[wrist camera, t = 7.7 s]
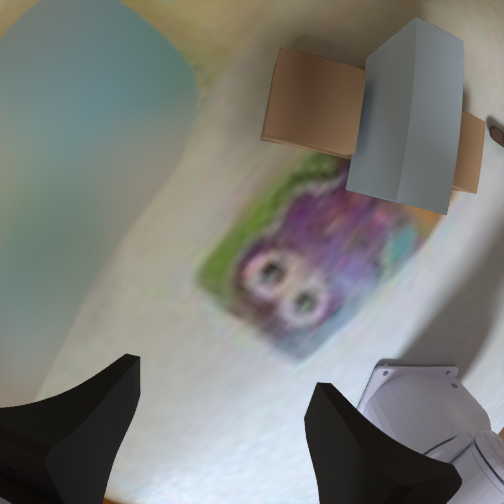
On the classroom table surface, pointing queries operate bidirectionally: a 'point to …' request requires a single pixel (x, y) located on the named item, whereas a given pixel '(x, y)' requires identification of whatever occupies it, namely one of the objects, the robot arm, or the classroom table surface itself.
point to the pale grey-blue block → (410, 119)
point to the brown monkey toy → (497, 135)
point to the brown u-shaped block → (342, 113)
